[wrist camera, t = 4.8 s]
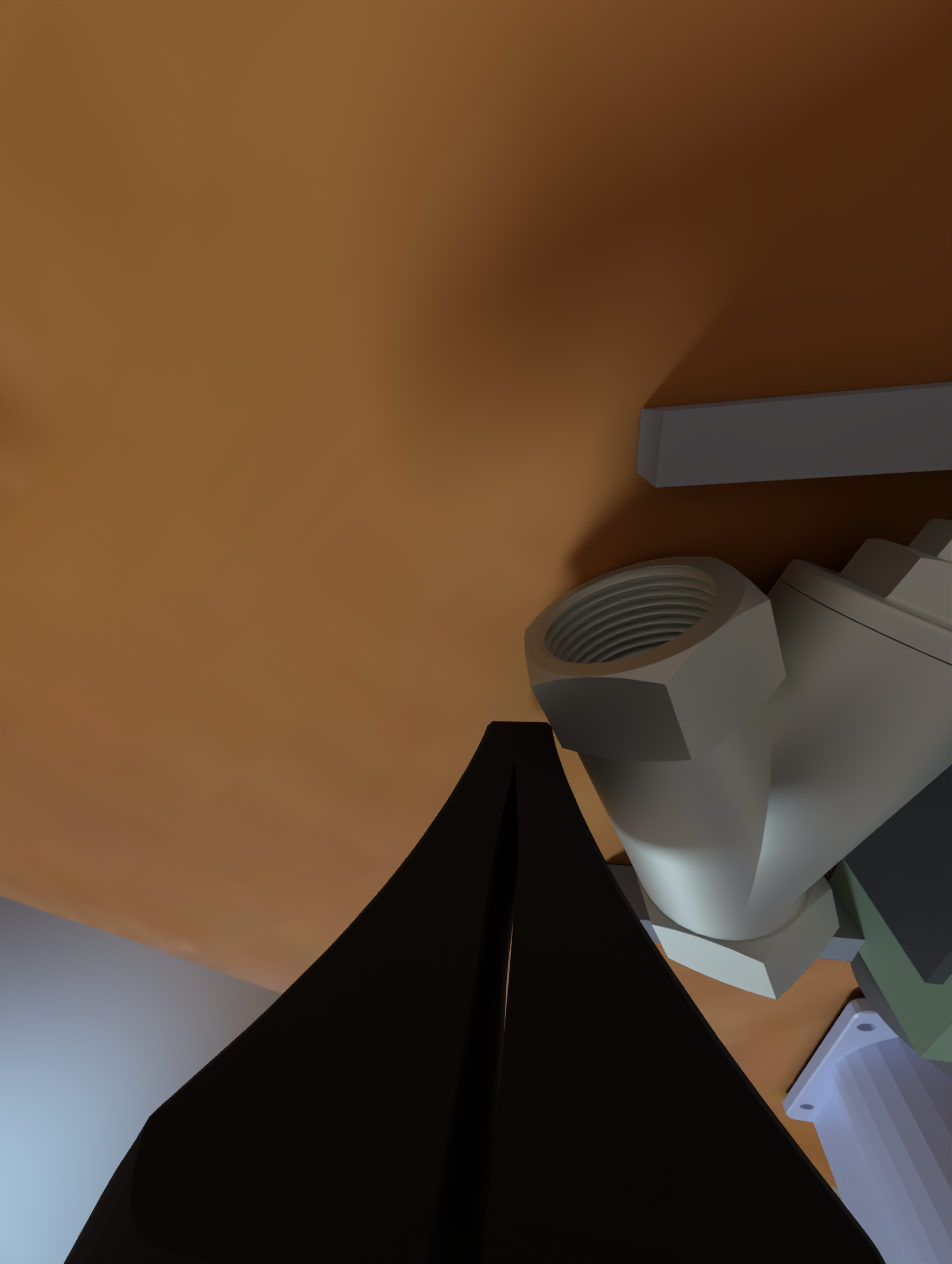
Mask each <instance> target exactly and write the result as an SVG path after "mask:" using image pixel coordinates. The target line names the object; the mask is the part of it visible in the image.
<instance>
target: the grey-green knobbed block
mask: <svg viewBox="0 0 952 1264" xmlns="http://www.w3.org/2000/svg"><path fill="white" fill-rule="evenodd" d="M937 470H952V381H951V382H940V383H928V384H917V385H906V386H894V387H883V388H872V389H861V390H849V391H838V392H827V393H815V394H804V395H793V396H782V397H770V398H759V399H748V400H736V401H725V402H714V403H703V404H691V405H680V406H669V407H657V408H646V409H641V419H640V431H639V443H638V455H637V467H636V473H638V474H639V475H640V476H641V477H643V478H644V479H645V480H646V481H648V482H649V483H650V484H652V485H653V486H654V487H655V488H658V487H674V486H690V485H707V484H723V483H740V482H756V481H773V480H789V479H806V478H822V477H838V476H855V475H871V474H888V473H904V472H921V471H937ZM607 865H608V866H609V868H610V870H611V872H612V874H613V876H614V877H615V879H616V881H617V883H618V884H619V886H620V888H621V890H622V891H623V893H624V895H625V896H626V898H627V900H628V901H629V903H630V905H631V906H632V908H633V910H634V912H635V913H636V915H637V916H638V918H639V920H640V921H641V923H642V924H643V926H644V928H645V929H646V931H647V932H648V934H649V936H650V937H651V939H652V940H653V942H656V943H661V942H660V940H659V938H658V936H657V934H656V932H655V930H654V928H653V926H652V924H651V921H650V918H649V915H648V911H647V908H646V905H645V902H644V899H643V895H642V892H641V889H640V885H639V882H638V878H637V875H636V871H635V869H634V867H633V866H626V865H612V864H607ZM826 881H827V882H828V884H829V885H830V887H831V889H832V894H833V898H834V903H835V908H836V913H837V917H838V922H839V928H838V930H837V931H836V933H835V934H834V936H833V937H832V938H831V940H830V941H829V943H828V944H827V945H826V947H825V948H824V949H823V951H822V952H821V953H820V954H819V956H818V957H817V958H821V959H832V960H842V961H850V963H851V967H852V970H853V973H854V976H855V978H856V980H857V982H858V985H859V987H860V989H861V990H862V992H863V994H864V995H865V997H866V999H867V1000H868V1001H869V1003H870V1004H871V1006H872V1007H873V1008H874V1010H875V1011H876V1012H877V1014H878V1015H879V1016H880V1017H881V1018H882V1020H883V1021H884V1022H885V1023H886V1024H887V1025H888V1026H889V1027H890V1028H891V1029H892V1030H893V1031H894V1033H895V1034H897V1035H898V1036H899V1037H900V1038H901V1039H902V1040H903V1041H904V1042H905V1043H906V1044H907V1045H909V1046H910V1047H911V1048H912V1049H913V1050H915V1051H916V1052H917V1054H918V1056H919V1058H923V1059H926V1060H928V1061H929V1062H931V1063H932V1064H933V1065H935V1066H936V1067H938V1068H940V1069H941V1070H943V1071H944V1072H946V1073H948V1074H949V1075H951V1076H952V764H951V765H950V766H949V767H948V768H947V769H946V770H944V771H943V772H942V773H941V774H940V775H939V776H937V777H936V778H935V779H934V780H933V781H932V782H931V783H929V784H928V785H927V786H926V787H925V788H924V789H922V790H921V791H920V792H919V793H918V794H917V795H915V796H914V797H913V798H912V799H911V800H910V801H909V802H907V803H906V804H905V805H904V806H903V807H902V808H900V809H899V810H898V811H897V812H896V813H895V814H894V815H892V816H891V817H890V818H889V819H888V820H887V821H885V822H884V823H883V824H882V825H881V826H880V827H878V828H877V829H876V830H875V831H874V832H873V833H872V834H870V835H869V836H868V837H867V838H866V839H865V840H863V841H862V842H861V843H860V844H859V845H858V846H857V847H855V848H854V849H853V850H852V851H851V852H850V853H848V854H847V855H846V856H845V857H844V858H843V859H842V860H840V861H839V862H838V863H837V865H836V867H835V869H834V871H833V873H832V875H831V877H830V879H829V880H826Z"/></svg>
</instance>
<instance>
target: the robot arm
mask: <svg viewBox="0 0 952 1264" xmlns="http://www.w3.org/2000/svg"><path fill="white" fill-rule="evenodd" d="M513 918H514V919H513ZM512 926H513V932H512ZM511 934H512V945H511V958H510V971H509V983H508V995H507V1006H506V1018H505V1003H506V983H507V971H508V960H509V951H510V942H511ZM504 1024H505V1030H504ZM783 1106H784V1109H785V1112H786V1114H787V1115H788V1116H789V1117H790V1118H792V1119H796V1120H802V1121H809V1122H813V1123H814V1125H815V1128H816V1131H817V1133H818V1136H819V1139H820V1141H821V1144H822V1147H823V1149H824V1152H825V1155H826V1158H827V1160H828V1163H829V1166H830V1168H831V1171H832V1174H833V1176H834V1179H835V1182H836V1184H837V1187H838V1190H839V1192H840V1195H841V1197H842V1200H843V1202H842V1201H841V1200H840V1198H839V1197H838V1196H837V1194H836V1193H835V1192H834V1191H833V1189H832V1188H831V1187H830V1186H829V1184H828V1183H827V1182H826V1180H825V1179H824V1178H823V1177H822V1175H821V1174H820V1173H819V1171H818V1170H817V1169H816V1168H815V1166H814V1165H813V1164H812V1163H811V1161H810V1160H809V1159H808V1157H807V1156H806V1155H805V1153H804V1152H803V1151H802V1149H801V1148H800V1147H799V1145H798V1144H797V1143H796V1142H795V1140H794V1139H793V1138H792V1136H791V1135H790V1134H789V1132H788V1131H787V1130H786V1128H785V1127H784V1126H783V1124H782V1123H781V1122H780V1121H779V1119H778V1118H777V1117H776V1115H775V1114H774V1113H773V1111H772V1110H771V1109H770V1107H769V1106H768V1105H767V1103H766V1102H765V1101H764V1099H763V1098H762V1097H761V1095H760V1094H759V1093H758V1091H757V1090H756V1088H755V1087H754V1086H753V1084H752V1083H751V1082H750V1080H749V1079H748V1078H747V1076H746V1075H745V1073H744V1072H743V1071H742V1069H741V1068H740V1067H739V1065H738V1064H737V1063H736V1061H735V1060H734V1058H733V1057H732V1056H731V1054H730V1053H729V1052H728V1050H727V1049H726V1047H725V1046H724V1045H723V1043H722V1042H721V1041H720V1039H719V1038H718V1037H717V1035H716V1034H715V1032H714V1031H713V1029H712V1028H711V1026H710V1025H709V1023H708V1022H707V1020H706V1019H705V1018H704V1016H703V1015H702V1013H701V1012H700V1010H699V1009H698V1007H697V1006H696V1004H695V1003H694V1001H693V1000H692V999H691V997H690V996H689V994H688V993H687V991H686V990H685V988H684V987H683V985H682V984H681V982H680V981H679V980H678V978H677V977H676V975H675V974H674V972H673V971H672V969H671V968H670V966H669V965H668V963H667V962H666V961H665V959H664V958H663V956H662V955H661V953H660V951H659V950H658V948H657V947H656V945H655V944H654V942H653V940H652V939H651V937H650V936H649V934H648V932H647V931H646V929H645V928H644V926H643V924H642V923H641V921H640V920H639V918H638V916H637V915H636V913H635V912H634V910H633V908H632V906H631V905H630V903H629V901H628V900H627V898H626V896H625V895H624V893H623V891H622V890H621V888H620V886H619V884H618V883H617V881H616V879H615V877H614V876H613V874H612V872H611V870H610V868H609V866H608V865H607V863H606V861H605V859H604V857H603V855H602V853H601V851H600V850H599V848H598V846H597V844H596V842H595V840H594V838H593V836H592V834H591V832H590V830H589V828H588V826H587V824H586V822H585V819H584V817H583V815H582V813H581V811H580V809H579V806H578V804H577V802H576V799H575V797H574V795H573V793H572V790H571V788H570V786H569V783H568V781H567V778H566V776H565V773H564V770H563V767H562V764H561V762H560V759H559V756H558V752H557V749H556V745H555V741H554V737H553V731H552V727H551V726H550V725H549V724H548V723H547V722H507V721H492V722H491V723H490V724H489V725H488V726H487V729H486V731H485V733H484V736H483V738H482V740H481V742H480V744H479V746H478V748H477V750H476V752H475V754H474V756H473V758H472V759H471V761H470V763H469V765H468V767H467V769H466V770H465V772H464V774H463V775H462V777H461V779H460V780H459V782H458V784H457V785H456V787H455V788H454V790H453V792H452V793H451V795H450V797H449V798H448V800H447V801H446V803H445V805H444V806H443V807H442V809H441V810H440V812H439V813H438V815H437V816H436V818H435V819H434V821H433V822H432V823H431V825H430V826H429V828H428V829H427V831H426V832H425V834H424V835H423V836H422V838H421V839H420V841H419V842H418V843H417V845H416V846H415V847H414V849H413V850H412V851H411V853H410V854H409V855H408V857H407V858H406V859H405V860H404V862H403V863H402V864H401V866H400V867H399V868H398V869H397V871H396V872H395V873H394V874H393V876H392V877H391V878H390V879H389V880H388V882H387V883H386V884H385V885H384V887H383V888H382V889H381V890H380V891H379V893H378V894H377V895H376V896H375V897H374V898H373V899H372V900H371V902H370V903H369V904H368V905H367V906H366V907H365V908H364V910H363V911H362V912H361V913H360V914H359V915H358V916H357V918H356V919H355V920H354V921H353V922H352V923H351V924H350V926H349V927H348V928H347V929H346V930H345V931H344V932H343V933H342V934H341V935H340V936H339V937H338V939H337V940H336V941H335V942H334V943H333V944H332V945H331V946H330V947H329V948H328V949H327V950H326V951H325V952H324V953H323V954H322V955H321V956H320V957H319V958H318V959H317V960H316V961H315V962H314V963H313V964H312V965H311V966H310V967H309V968H308V969H307V970H306V971H305V972H304V973H303V974H302V975H301V976H300V977H299V978H298V979H297V980H296V981H295V982H294V983H293V984H292V985H291V986H290V987H289V988H288V989H287V990H286V991H285V992H284V993H283V994H282V995H281V996H280V997H279V998H278V999H277V1000H276V1001H275V1002H274V1003H273V1004H272V1005H271V1006H270V1007H269V1008H268V1009H267V1010H266V1011H265V1012H264V1013H263V1014H262V1015H261V1016H260V1017H259V1018H258V1019H257V1020H255V1021H254V1022H253V1023H252V1024H251V1025H250V1026H249V1027H248V1028H247V1029H246V1030H245V1031H244V1032H242V1033H241V1034H240V1035H239V1036H238V1037H237V1038H236V1039H235V1040H234V1041H232V1042H231V1043H230V1044H229V1045H228V1046H227V1047H226V1048H225V1049H224V1050H222V1051H221V1052H220V1053H219V1054H218V1055H217V1056H216V1057H215V1058H214V1059H213V1060H211V1061H210V1062H209V1063H208V1064H207V1065H206V1066H205V1067H204V1068H203V1069H201V1070H200V1071H199V1072H198V1073H197V1074H196V1075H195V1076H193V1077H192V1078H191V1079H190V1080H189V1081H188V1082H187V1083H186V1084H185V1085H183V1086H182V1087H181V1088H180V1089H179V1090H178V1091H177V1092H176V1093H175V1094H173V1095H172V1096H171V1097H170V1098H169V1099H168V1100H167V1101H166V1102H164V1103H163V1104H162V1105H161V1106H160V1107H159V1108H158V1109H157V1110H156V1111H155V1112H154V1113H153V1114H152V1115H151V1116H150V1117H149V1118H148V1120H147V1122H146V1123H145V1125H144V1127H143V1128H142V1130H141V1132H140V1133H139V1135H138V1137H137V1139H136V1140H135V1142H134V1143H133V1145H132V1146H131V1148H130V1149H129V1151H128V1152H127V1154H126V1155H125V1157H124V1159H123V1160H122V1162H121V1163H120V1165H119V1166H118V1168H117V1169H116V1171H115V1173H114V1174H113V1176H112V1178H111V1179H110V1181H109V1183H108V1185H107V1187H106V1188H105V1190H104V1192H103V1193H102V1195H101V1197H100V1199H99V1201H98V1202H97V1204H96V1206H95V1208H94V1210H93V1211H92V1213H91V1215H90V1217H89V1219H88V1221H87V1222H86V1224H85V1226H84V1228H83V1230H82V1231H81V1233H80V1235H79V1237H78V1239H77V1240H76V1242H75V1244H74V1246H73V1248H72V1250H71V1252H70V1253H69V1255H68V1257H67V1259H66V1260H65V1262H64V1264H952V1076H951V1075H949V1074H948V1073H946V1072H944V1071H943V1070H941V1069H940V1068H938V1067H936V1066H935V1065H933V1064H932V1063H931V1062H929V1061H928V1060H926V1059H923V1058H919V1056H918V1054H917V1052H916V1051H915V1050H913V1049H912V1048H911V1047H910V1046H909V1045H907V1044H906V1043H905V1042H904V1041H903V1040H902V1039H901V1038H900V1037H899V1036H898V1035H897V1034H895V1033H894V1031H893V1030H892V1029H891V1028H890V1027H889V1026H888V1025H887V1024H886V1023H885V1022H884V1021H883V1020H882V1018H881V1017H880V1016H879V1015H878V1014H877V1012H876V1011H875V1010H874V1008H873V1007H872V1006H871V1004H870V1003H869V1001H868V1000H867V999H866V998H858V999H854V1000H851V1001H850V1002H849V1003H848V1004H847V1006H846V1007H845V1009H844V1010H843V1012H842V1013H841V1015H840V1016H839V1018H838V1019H837V1021H836V1022H835V1024H834V1025H833V1027H832V1028H831V1030H830V1031H829V1033H828V1034H827V1036H826V1037H825V1039H824V1040H823V1042H822V1043H821V1045H820V1046H819V1048H818V1049H817V1051H816V1052H815V1054H814V1055H813V1057H812V1058H811V1060H810V1061H809V1063H808V1064H807V1066H806V1067H805V1069H804V1070H803V1072H802V1073H801V1075H800V1076H799V1078H798V1079H797V1081H796V1082H795V1084H794V1085H793V1087H792V1088H791V1090H790V1091H789V1093H788V1094H787V1096H786V1097H785V1099H784V1100H783Z"/></svg>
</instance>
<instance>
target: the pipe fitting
mask: <svg viewBox="0 0 952 1264" xmlns="http://www.w3.org/2000/svg"><path fill="white" fill-rule="evenodd" d="M524 644H525V654H526V662H527V668H528V673H529V678H530V683H531V687H532V689H533V691H534V693H535V695H536V697H537V699H538V701H539V703H540V705H541V707H542V709H543V711H544V713H545V715H546V717H547V719H548V721H549V723H550V725H551V727H552V729H553V731H554V733H555V735H556V736H557V738H558V740H559V742H560V744H561V746H562V748H565V749H569V750H572V751H576V752H577V753H578V755H579V757H580V759H581V761H582V763H583V765H584V767H585V769H586V771H587V773H588V775H589V777H590V779H591V781H592V783H593V785H594V787H595V789H596V791H597V793H598V796H599V798H600V800H601V802H602V804H603V806H604V808H605V810H606V812H607V814H608V816H609V818H610V820H611V822H612V824H613V826H614V828H615V830H616V832H617V834H618V836H619V838H620V840H621V842H622V845H623V847H624V849H625V851H626V853H627V855H628V857H629V859H630V861H631V863H632V865H633V867H634V869H635V871H636V875H637V878H638V882H639V885H640V889H641V892H642V895H643V899H644V902H645V905H646V908H647V911H648V915H649V918H650V921H651V924H652V926H653V928H654V930H655V932H656V934H657V936H658V938H659V940H660V942H661V944H662V946H663V948H664V950H665V952H666V954H667V956H668V958H670V959H672V960H674V961H676V962H678V963H680V964H682V965H685V966H687V967H689V968H691V969H693V970H695V971H698V972H700V973H702V974H705V975H707V976H709V977H712V978H714V979H717V980H719V981H721V982H724V983H727V984H730V985H733V986H735V987H738V988H741V989H744V990H746V991H750V992H753V993H756V994H759V995H763V996H766V997H769V998H773V999H776V1000H777V999H778V998H779V997H780V996H781V995H782V994H783V993H784V992H785V991H786V990H787V989H788V988H790V987H791V986H792V985H793V984H794V983H795V982H796V981H797V980H798V979H799V978H800V976H801V975H802V974H803V973H804V972H805V971H806V970H807V969H808V968H809V967H810V966H811V964H812V963H813V962H814V961H815V959H816V958H817V957H818V956H819V954H820V953H821V952H822V951H823V949H824V948H825V947H826V945H827V944H828V943H829V941H830V940H831V938H832V937H833V936H834V934H835V933H836V931H837V930H838V928H839V922H838V917H837V913H836V908H835V903H834V898H833V894H832V889H831V887H830V885H829V884H828V882H827V881H826V879H825V877H824V876H823V875H824V874H825V873H827V872H828V871H829V870H830V869H831V868H832V867H833V866H835V865H836V864H837V863H838V862H839V861H840V860H842V859H843V858H844V857H845V856H846V855H847V854H848V853H850V852H851V851H852V850H853V849H854V848H855V847H857V846H858V845H859V844H860V843H861V842H862V841H863V840H865V839H866V838H867V837H868V836H869V835H870V834H872V833H873V832H874V831H875V830H876V829H877V828H878V827H880V826H881V825H882V824H883V823H884V822H885V821H887V820H888V819H889V818H890V817H891V816H892V815H894V814H895V813H896V812H897V811H898V810H899V809H900V808H902V807H903V806H904V805H905V804H906V803H907V802H909V801H910V800H911V799H912V798H913V797H914V796H915V795H917V794H918V793H919V792H920V791H921V790H922V789H924V788H925V787H926V786H927V785H928V784H929V783H931V782H932V781H933V780H934V779H935V778H936V777H937V776H939V775H940V774H941V773H942V772H943V771H944V770H946V769H947V768H948V767H949V766H950V765H951V764H952V521H950V520H946V519H940V518H936V519H931V520H930V521H929V522H928V523H927V524H926V526H925V527H924V528H923V529H922V530H921V532H920V533H919V534H918V535H917V536H916V538H915V539H914V540H913V541H912V542H911V544H910V545H909V546H908V547H906V546H903V545H900V544H897V543H894V542H891V541H887V540H884V539H880V538H875V539H866V541H865V542H864V543H863V544H862V546H861V547H860V548H859V550H858V551H857V552H856V553H855V555H854V556H853V557H852V559H851V560H850V561H849V562H848V564H847V565H846V566H845V568H844V569H843V570H842V571H841V572H840V573H838V572H835V571H833V570H830V569H827V568H825V567H822V566H819V565H816V564H814V563H811V562H807V561H804V560H800V559H794V560H792V561H791V562H790V563H789V565H788V566H787V568H786V569H785V570H784V572H783V573H782V575H781V576H780V578H779V579H778V580H777V582H776V583H775V584H774V586H773V587H772V589H771V590H770V591H769V593H768V594H767V596H766V595H765V594H764V593H763V592H762V591H761V590H759V589H758V588H757V587H756V586H755V585H754V584H753V583H752V582H751V581H750V580H749V579H748V578H747V577H745V576H744V575H743V574H741V573H740V572H739V571H738V570H736V569H735V568H734V567H732V566H730V565H729V564H727V563H725V562H723V561H721V560H719V559H716V558H712V557H692V556H682V557H668V558H660V559H654V560H648V561H644V562H640V563H635V564H632V565H628V566H625V567H622V568H619V569H616V570H613V571H610V572H607V573H605V574H602V575H600V576H598V577H595V578H593V579H591V580H589V581H587V582H585V583H583V584H581V585H579V586H577V587H575V588H574V589H572V590H570V591H569V592H567V593H565V594H564V595H562V596H561V597H560V598H558V599H557V600H555V601H554V602H553V603H552V604H550V605H549V606H548V607H547V608H546V609H545V610H544V611H543V612H542V613H540V614H539V615H538V616H537V617H536V618H535V620H534V621H533V622H532V623H531V624H530V625H529V626H528V627H527V628H526V630H525V635H524Z"/></svg>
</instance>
